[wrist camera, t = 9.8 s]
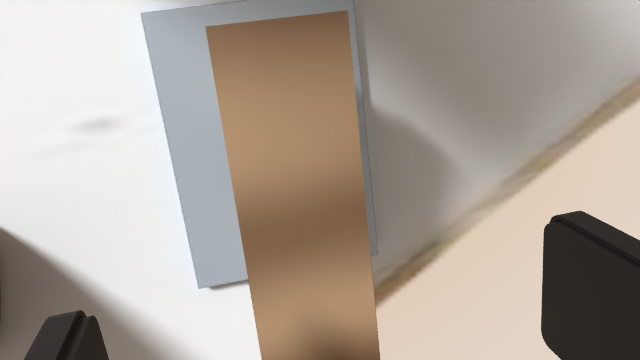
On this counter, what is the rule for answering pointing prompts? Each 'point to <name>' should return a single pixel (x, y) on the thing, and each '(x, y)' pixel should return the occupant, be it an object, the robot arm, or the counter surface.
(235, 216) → the base
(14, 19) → the counter surface
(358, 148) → the beam
